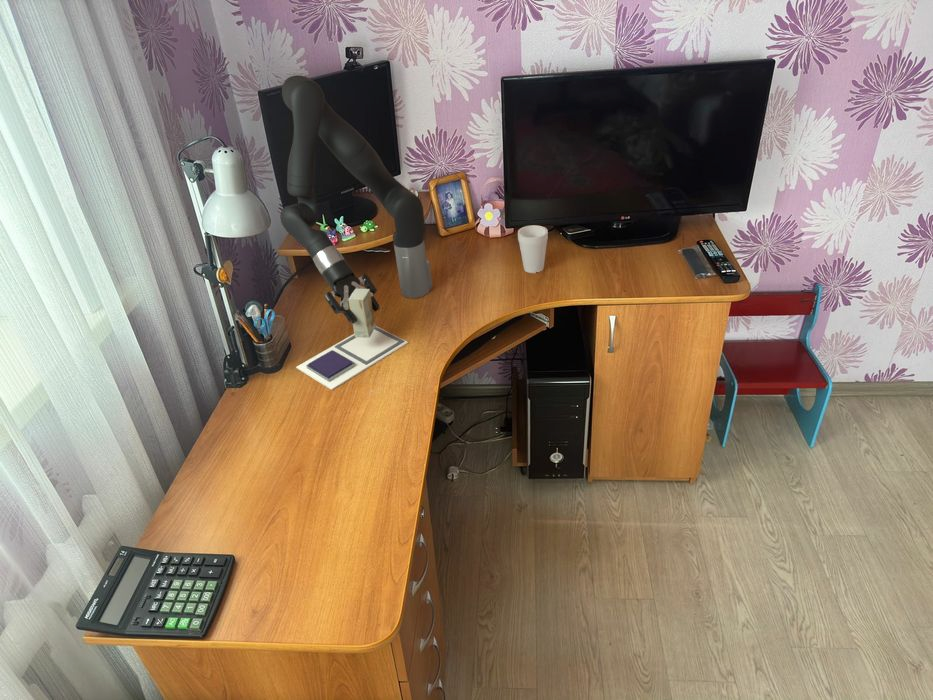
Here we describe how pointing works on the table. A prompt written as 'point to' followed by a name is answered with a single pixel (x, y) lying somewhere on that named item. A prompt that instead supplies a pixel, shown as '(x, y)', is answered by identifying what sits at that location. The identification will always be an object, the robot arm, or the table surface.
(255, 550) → the table surface
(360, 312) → the skincare box
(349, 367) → the ink pad
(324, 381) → the marked board
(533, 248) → the foam cup
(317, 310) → the table surface
